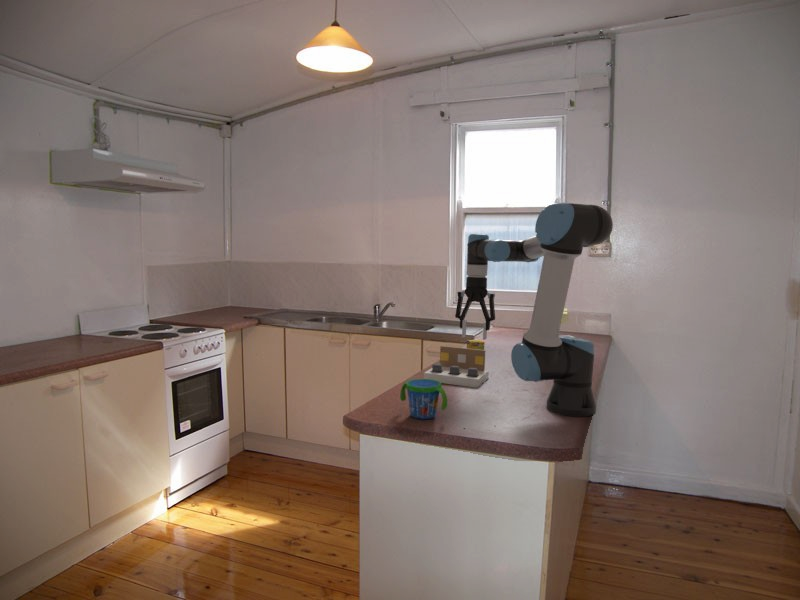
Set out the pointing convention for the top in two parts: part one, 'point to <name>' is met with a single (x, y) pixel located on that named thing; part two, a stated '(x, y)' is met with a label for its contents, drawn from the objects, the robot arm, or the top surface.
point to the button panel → (464, 360)
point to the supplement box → (475, 344)
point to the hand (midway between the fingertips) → (474, 338)
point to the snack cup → (423, 397)
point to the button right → (472, 372)
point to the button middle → (454, 370)
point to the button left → (437, 368)
